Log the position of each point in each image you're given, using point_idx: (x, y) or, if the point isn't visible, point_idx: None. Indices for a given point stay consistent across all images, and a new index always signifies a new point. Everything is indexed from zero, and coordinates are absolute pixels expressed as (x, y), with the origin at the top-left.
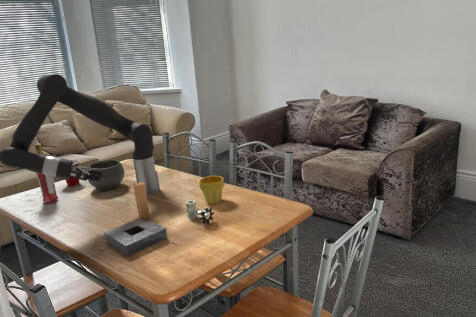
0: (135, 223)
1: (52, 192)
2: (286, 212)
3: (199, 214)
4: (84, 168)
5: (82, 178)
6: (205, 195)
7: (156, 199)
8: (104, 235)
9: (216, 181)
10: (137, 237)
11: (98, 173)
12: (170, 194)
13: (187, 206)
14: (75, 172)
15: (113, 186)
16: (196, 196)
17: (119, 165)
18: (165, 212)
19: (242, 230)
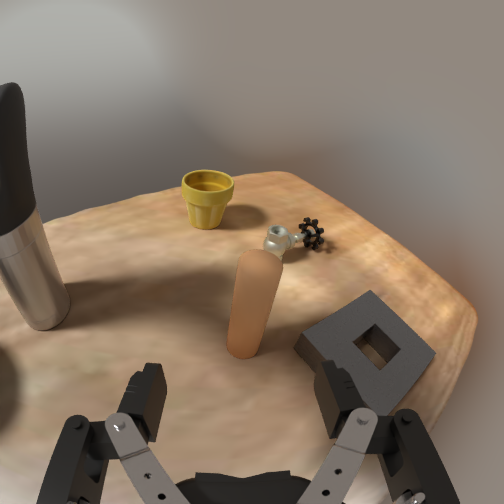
0: (340, 347)
1: None
2: (293, 183)
3: (300, 240)
4: (174, 486)
5: (397, 458)
6: (215, 215)
7: (114, 302)
8: None
9: (191, 183)
10: (407, 336)
11: (157, 393)
12: (106, 271)
13: (282, 242)
14: (447, 483)
15: None
16: (161, 235)
17: None
18: (220, 297)
19: (339, 222)
